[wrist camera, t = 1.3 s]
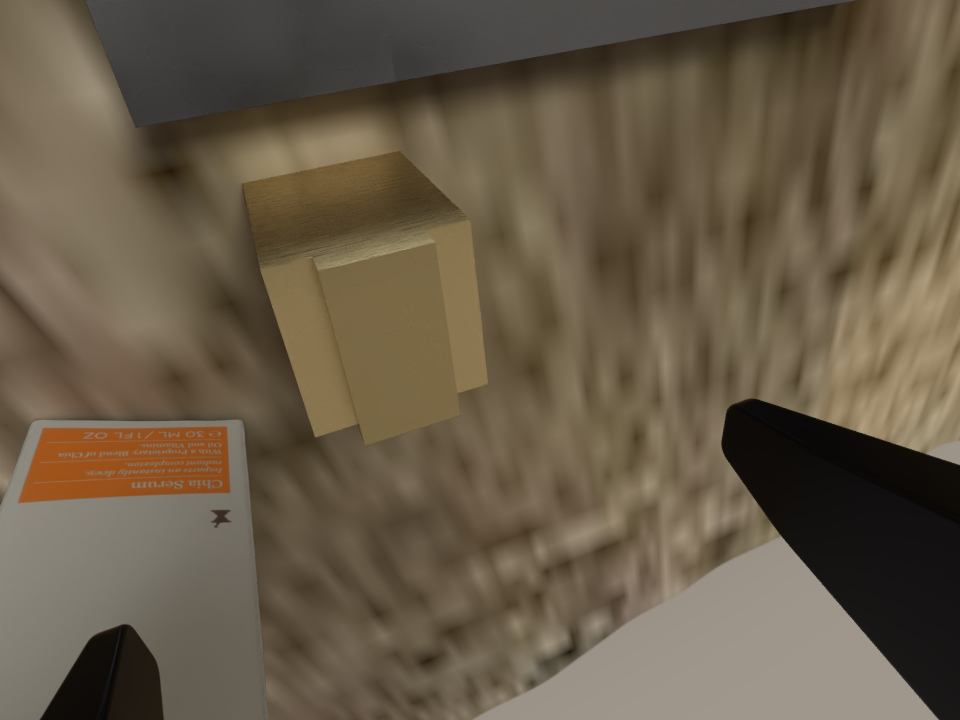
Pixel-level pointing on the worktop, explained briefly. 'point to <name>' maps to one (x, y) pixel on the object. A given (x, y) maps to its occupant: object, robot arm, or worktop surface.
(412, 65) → the grey slotted board
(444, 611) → the worktop surface
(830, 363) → the worktop surface
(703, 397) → the worktop surface
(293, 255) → the stepped wooden chunk
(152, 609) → the skincare box
